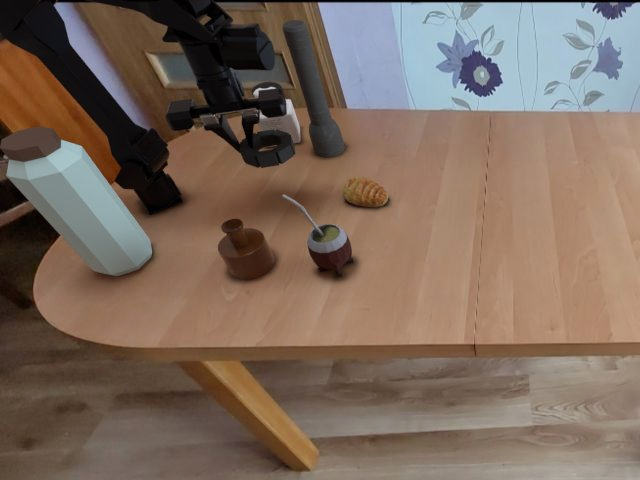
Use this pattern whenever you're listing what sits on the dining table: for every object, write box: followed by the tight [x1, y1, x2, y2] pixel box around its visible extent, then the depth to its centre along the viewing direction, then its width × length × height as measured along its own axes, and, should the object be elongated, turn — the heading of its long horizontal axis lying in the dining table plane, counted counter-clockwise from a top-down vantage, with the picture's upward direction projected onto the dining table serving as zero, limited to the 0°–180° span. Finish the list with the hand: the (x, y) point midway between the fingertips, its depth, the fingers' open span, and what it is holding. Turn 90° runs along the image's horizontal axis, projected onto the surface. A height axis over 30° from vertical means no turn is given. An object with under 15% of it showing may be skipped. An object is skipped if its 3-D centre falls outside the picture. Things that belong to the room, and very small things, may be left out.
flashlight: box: [282, 19, 346, 158], centre depth 101 cm, size 7×28×7 cm
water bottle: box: [0, 125, 153, 277], centre depth 76 cm, size 10×10×25 cm
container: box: [251, 81, 301, 148], centre depth 110 cm, size 8×8×13 cm
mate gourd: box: [281, 193, 354, 278], centre depth 80 cm, size 8×8×15 cm
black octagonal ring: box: [239, 129, 296, 169], centre depth 89 cm, size 9×9×2 cm
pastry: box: [341, 176, 389, 208], centre depth 98 cm, size 9×7×4 cm
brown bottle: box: [217, 218, 276, 280], centre depth 82 cm, size 8×8×10 cm
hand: (247, 151), depth 88 cm, fingers closed on black octagonal ring, 2 cm apart
